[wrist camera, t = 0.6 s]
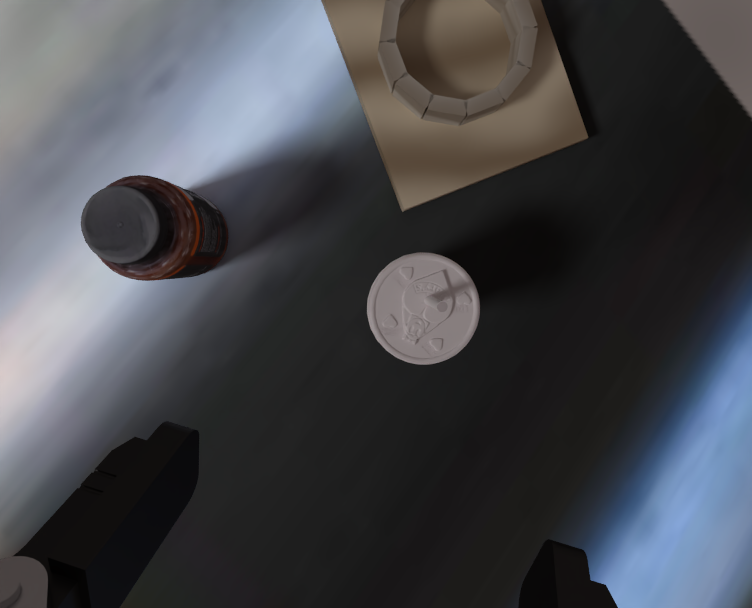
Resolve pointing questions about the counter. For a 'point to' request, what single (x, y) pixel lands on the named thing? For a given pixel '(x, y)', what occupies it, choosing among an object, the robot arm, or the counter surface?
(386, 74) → the socket board
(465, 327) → the smoothie
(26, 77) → the counter surface
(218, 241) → the supplement bottle
